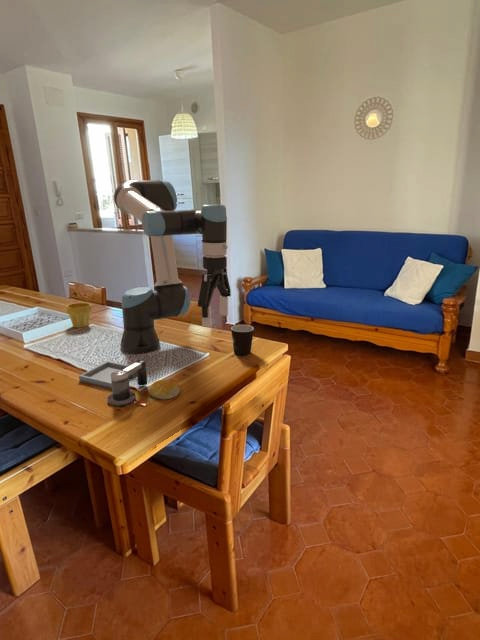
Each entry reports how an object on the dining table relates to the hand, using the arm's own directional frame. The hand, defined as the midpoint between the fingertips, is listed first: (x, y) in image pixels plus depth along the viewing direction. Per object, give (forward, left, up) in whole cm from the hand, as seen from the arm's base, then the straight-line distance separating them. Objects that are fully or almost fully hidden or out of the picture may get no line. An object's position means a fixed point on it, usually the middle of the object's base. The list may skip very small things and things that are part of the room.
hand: (215, 320), depth 135 cm
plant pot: (-81, +21, -19) cm, 86 cm away
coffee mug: (0, +23, -19) cm, 30 cm away
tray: (-31, -17, -19) cm, 40 cm away
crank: (-17, -23, -18) cm, 34 cm away
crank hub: (-15, -28, -19) cm, 37 cm away
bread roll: (-8, -19, -20) cm, 28 cm away
